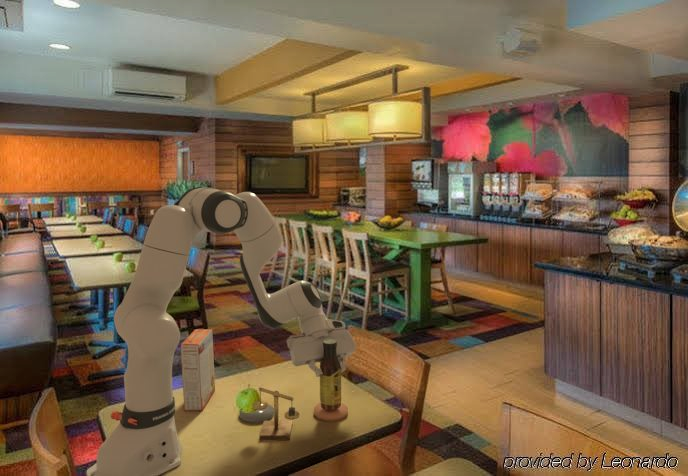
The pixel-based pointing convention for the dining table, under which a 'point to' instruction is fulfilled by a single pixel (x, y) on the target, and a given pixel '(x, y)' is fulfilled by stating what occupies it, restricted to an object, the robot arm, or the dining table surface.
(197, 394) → the cracker box
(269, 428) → the brass balance
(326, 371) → the sauce bottle
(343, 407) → the terracotta dish
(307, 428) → the dining table surface
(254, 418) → the slate dish
